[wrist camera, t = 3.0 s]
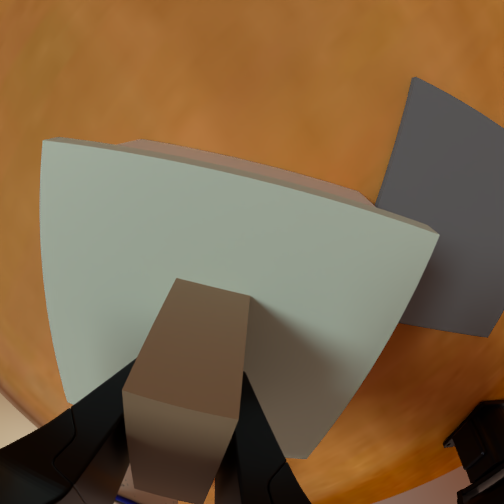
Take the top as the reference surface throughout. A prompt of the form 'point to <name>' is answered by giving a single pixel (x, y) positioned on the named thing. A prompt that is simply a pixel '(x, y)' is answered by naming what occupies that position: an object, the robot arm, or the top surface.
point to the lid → (214, 299)
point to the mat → (451, 209)
